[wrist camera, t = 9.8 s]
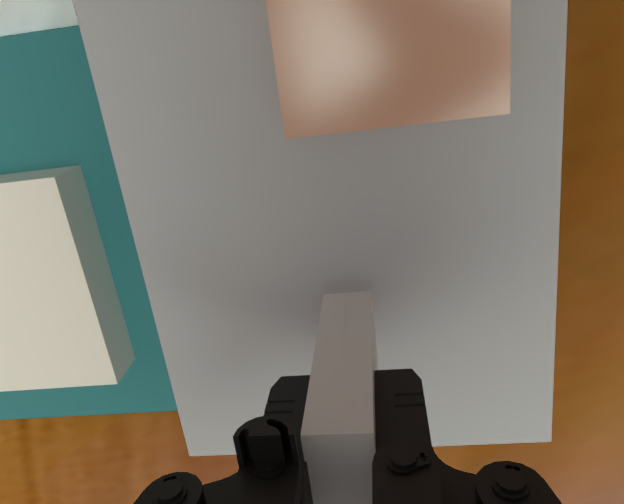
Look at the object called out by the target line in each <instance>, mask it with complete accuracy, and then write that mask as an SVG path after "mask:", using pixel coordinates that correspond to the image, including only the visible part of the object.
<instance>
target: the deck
mask: <svg viewBox="0 0 624 504" xmlns="http://www.w3.org/2000/svg"><path fill="white" fill-rule="evenodd" d="M73 4H74V8H75V12H76V16H77V20H78V23H79V27H80V31H81V35H82V39H83V43H84V47H85V51H86V55H87V58H88V62H89V66H90V70H91V74H92V78H93V82H94V86H95V90H96V94H97V97H98V101H99V105H100V109H101V113H102V117H103V121H104V125H105V129H106V132H107V136H108V140H109V144H110V148H111V152H112V156H113V160H114V164H115V167H116V171H117V175H118V179H119V183H120V187H121V191H122V195H123V199H124V203H125V206H126V210H127V214H128V218H129V222H130V226H131V230H132V234H133V238H134V241H135V245H136V249H137V253H138V257H139V261H140V265H141V269H142V273H143V276H144V280H145V284H146V288H147V292H148V296H149V300H150V304H151V308H152V312H153V315H154V319H155V323H156V327H157V331H158V335H159V339H160V343H161V347H162V350H163V354H164V358H165V362H166V366H167V370H168V374H169V378H170V382H171V386H172V389H173V393H174V397H175V401H176V405H177V409H178V413H179V417H180V421H181V424H182V428H183V432H184V436H185V440H186V444H187V448H188V452H189V456H210V455H235V454H236V450H235V446H234V441H233V435H234V434H235V432H236V430H237V429H238V428H239V427H240V426H242V425H243V424H244V423H245V422H247V421H249V420H252V419H254V418H256V417H261V416H263V415H264V411H265V407H266V404H267V400H268V396H269V392H270V389H271V387H272V386H273V385H274V384H275V383H276V382H277V380H278V379H279V378H280V377H281V376H299V375H310V374H311V368H312V362H313V356H314V350H315V344H316V338H317V331H318V325H319V319H320V313H321V307H322V301H323V295H324V294H332V293H347V292H361V291H371V295H372V305H373V316H374V327H375V337H376V348H377V359H378V370H390V369H410V368H412V369H413V370H414V371H415V373H416V374H417V375H418V376H419V377H420V378H421V379H422V385H423V392H424V398H425V405H426V411H427V417H428V424H429V430H430V437H431V443H432V447H433V446H457V445H482V444H507V443H531V442H551V435H552V408H553V382H554V355H555V328H556V302H557V275H558V249H559V222H560V196H561V169H562V143H563V116H564V89H565V63H566V36H567V10H568V0H511V83H510V114H504V115H495V116H486V117H478V118H469V119H460V120H451V121H442V122H433V123H424V124H416V125H407V126H398V127H389V128H380V129H371V130H362V131H354V132H345V133H336V134H327V135H318V136H309V137H300V138H292V139H285V134H284V127H283V120H282V113H281V106H280V99H279V92H278V85H277V78H276V71H275V64H274V57H273V50H272V42H271V35H270V28H269V21H268V14H267V7H266V0H73Z"/></svg>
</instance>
